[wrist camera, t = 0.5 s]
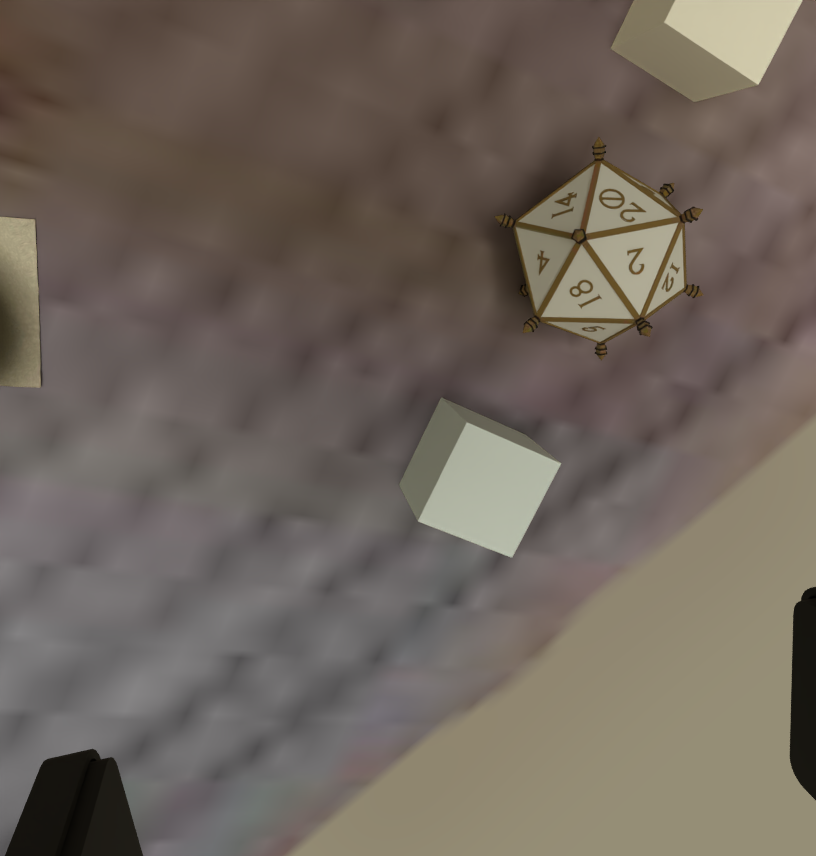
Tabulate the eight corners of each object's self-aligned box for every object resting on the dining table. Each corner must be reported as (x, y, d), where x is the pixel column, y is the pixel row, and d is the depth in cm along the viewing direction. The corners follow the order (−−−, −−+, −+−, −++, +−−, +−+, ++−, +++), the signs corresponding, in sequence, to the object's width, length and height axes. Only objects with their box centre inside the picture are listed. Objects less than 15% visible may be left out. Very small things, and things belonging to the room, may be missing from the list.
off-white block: (661, -58, 34) (726, -103, 30) (745, 1, 36) (819, -33, 31) (609, 49, 35) (664, 22, 30) (693, 102, 36) (758, 85, 32)
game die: (503, 252, 40) (431, 209, 31) (644, 147, 37) (610, 65, 28) (592, 394, 39) (544, 393, 29) (748, 297, 35) (748, 261, 26)
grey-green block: (441, 396, 38) (466, 422, 33) (524, 434, 39) (561, 463, 35) (398, 484, 39) (418, 521, 34) (482, 517, 40) (512, 557, 35)
